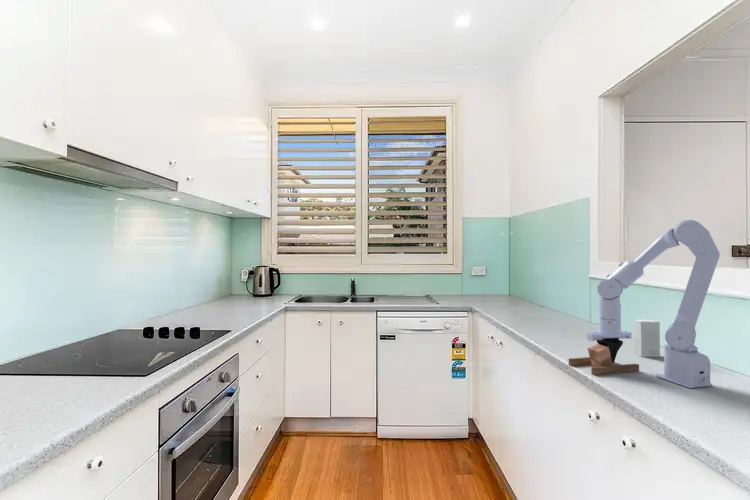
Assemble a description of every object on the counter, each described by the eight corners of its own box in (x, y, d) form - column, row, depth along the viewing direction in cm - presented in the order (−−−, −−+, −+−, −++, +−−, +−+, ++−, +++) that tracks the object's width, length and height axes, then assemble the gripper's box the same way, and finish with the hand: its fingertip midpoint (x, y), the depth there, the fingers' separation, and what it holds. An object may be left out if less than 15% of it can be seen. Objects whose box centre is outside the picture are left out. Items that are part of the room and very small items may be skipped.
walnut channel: (639, 371, 112) (639, 364, 112) (594, 375, 109) (594, 368, 109) (610, 361, 122) (610, 355, 122) (568, 364, 118) (568, 358, 118)
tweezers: (160, 355, 130) (160, 349, 129) (175, 355, 130) (175, 349, 130) (134, 375, 112) (134, 369, 112) (151, 375, 113) (151, 369, 113)
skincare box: (652, 354, 131) (652, 319, 131) (660, 357, 127) (660, 321, 127) (633, 353, 132) (633, 319, 132) (641, 357, 127) (641, 321, 127)
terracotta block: (613, 365, 114) (608, 347, 113) (602, 370, 113) (597, 351, 113) (602, 361, 118) (598, 343, 117) (592, 366, 117) (587, 348, 116)
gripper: (617, 315, 121) (617, 357, 122) (579, 317, 118) (579, 360, 118) (637, 319, 115) (637, 364, 115) (597, 321, 111) (597, 367, 111)
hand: (609, 362), depth 116 cm, fingers closed
